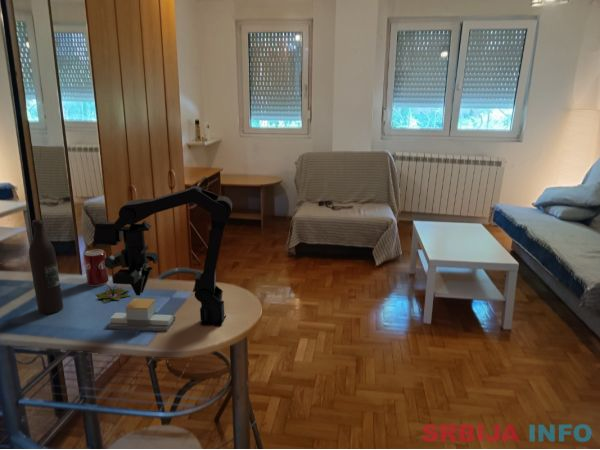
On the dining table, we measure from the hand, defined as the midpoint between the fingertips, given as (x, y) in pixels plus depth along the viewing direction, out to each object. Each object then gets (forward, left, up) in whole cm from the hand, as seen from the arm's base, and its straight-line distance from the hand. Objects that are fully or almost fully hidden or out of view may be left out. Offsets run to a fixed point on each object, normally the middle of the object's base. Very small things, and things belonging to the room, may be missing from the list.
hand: (139, 294), depth 130 cm
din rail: (0, 0, -10) cm, 10 cm away
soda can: (+29, -28, -10) cm, 42 cm away
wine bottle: (+33, -6, -10) cm, 35 cm away
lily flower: (+18, -18, -11) cm, 28 cm away
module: (0, 0, -9) cm, 9 cm away
